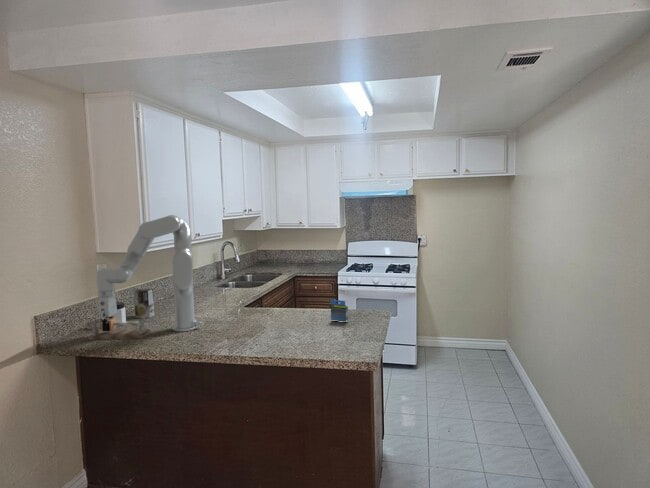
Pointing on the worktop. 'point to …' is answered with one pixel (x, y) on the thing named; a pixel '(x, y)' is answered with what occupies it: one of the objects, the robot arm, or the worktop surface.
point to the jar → (120, 312)
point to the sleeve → (110, 324)
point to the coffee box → (144, 303)
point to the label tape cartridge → (339, 310)
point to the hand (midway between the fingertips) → (108, 328)
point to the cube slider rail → (118, 333)
